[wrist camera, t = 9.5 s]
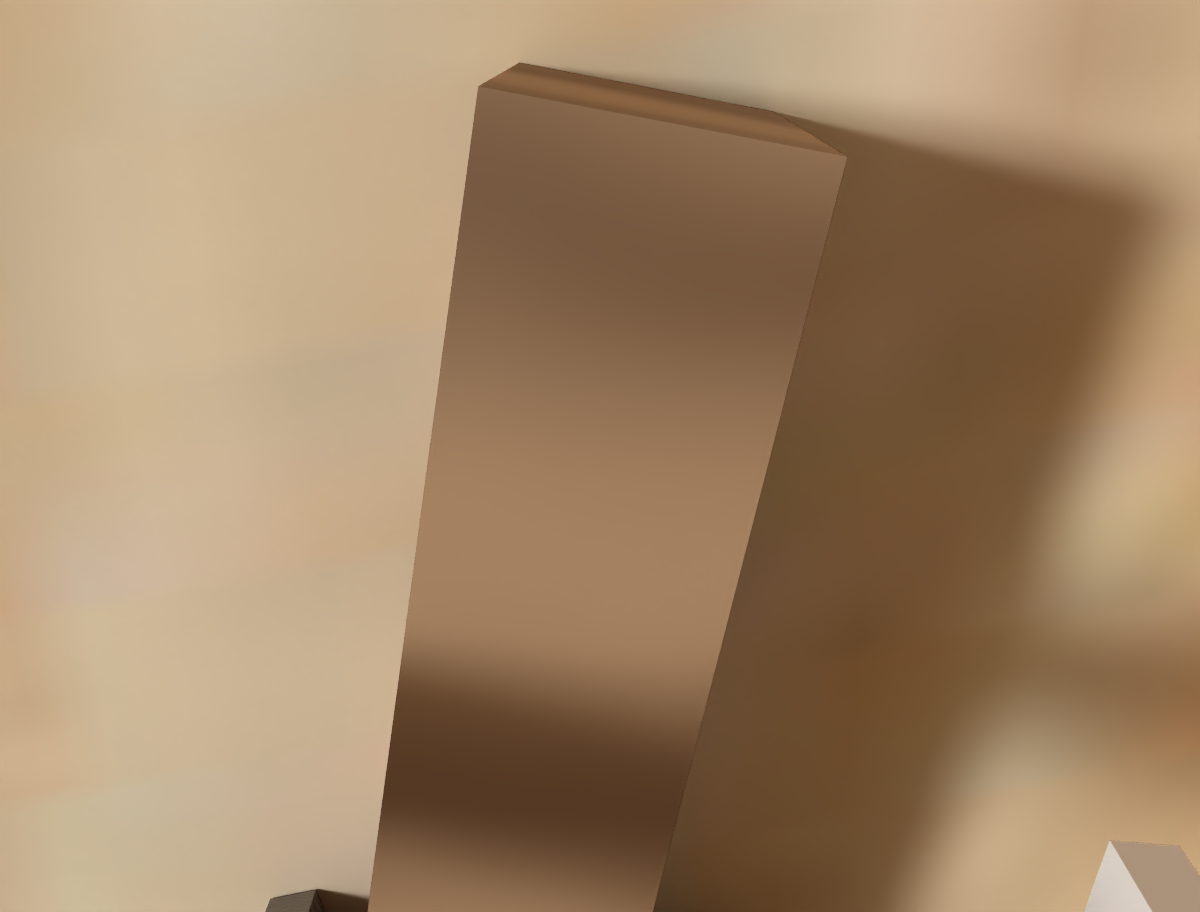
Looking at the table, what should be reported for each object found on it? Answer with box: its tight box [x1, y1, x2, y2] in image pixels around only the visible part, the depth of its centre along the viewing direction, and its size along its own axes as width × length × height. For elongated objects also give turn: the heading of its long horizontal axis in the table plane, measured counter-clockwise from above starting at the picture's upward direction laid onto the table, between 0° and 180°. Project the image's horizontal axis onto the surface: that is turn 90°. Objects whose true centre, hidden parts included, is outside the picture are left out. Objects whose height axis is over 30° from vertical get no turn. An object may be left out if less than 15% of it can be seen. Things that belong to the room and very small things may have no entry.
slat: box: [368, 63, 847, 912], centre depth 18 cm, size 18×4×6 cm, turn 170°
